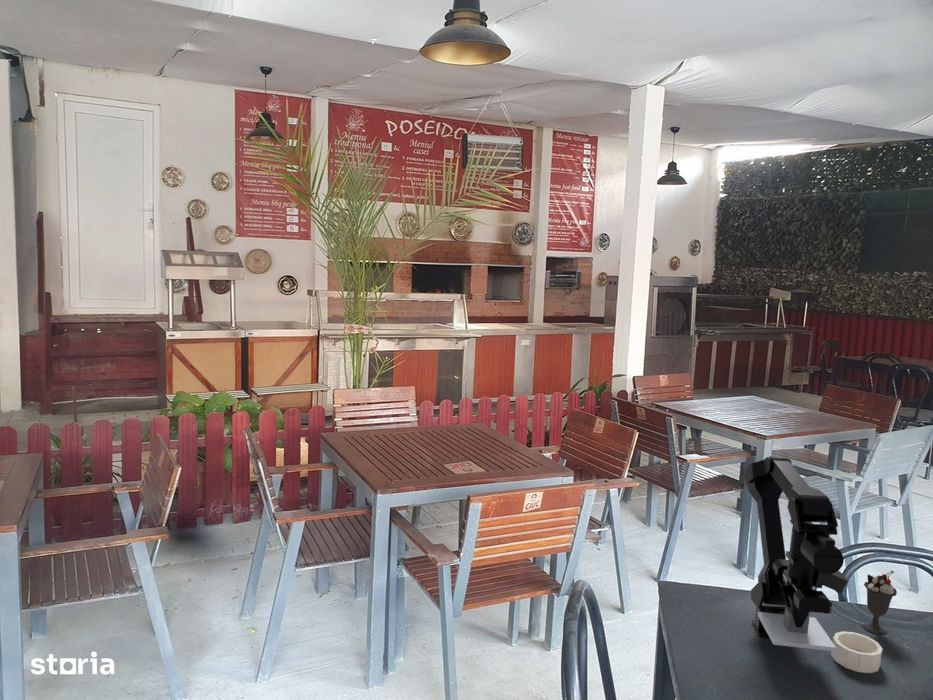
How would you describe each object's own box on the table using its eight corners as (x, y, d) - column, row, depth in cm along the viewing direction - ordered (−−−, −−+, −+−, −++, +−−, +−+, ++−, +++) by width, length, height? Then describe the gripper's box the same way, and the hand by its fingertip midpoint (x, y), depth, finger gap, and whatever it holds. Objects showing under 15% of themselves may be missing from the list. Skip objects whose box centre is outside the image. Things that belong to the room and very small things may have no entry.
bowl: (841, 670, 152) (843, 652, 151) (825, 646, 161) (827, 629, 160) (886, 675, 151) (889, 657, 150) (868, 651, 160) (871, 634, 159)
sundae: (895, 638, 166) (904, 576, 163) (863, 634, 167) (872, 572, 165) (885, 624, 172) (894, 563, 170) (854, 619, 173) (862, 560, 171)
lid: (773, 644, 148) (776, 622, 148) (757, 615, 160) (759, 594, 159) (835, 651, 147) (838, 629, 146) (814, 621, 159) (817, 600, 158)
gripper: (864, 576, 141) (854, 651, 143) (829, 538, 159) (820, 605, 161) (804, 570, 142) (794, 645, 144) (775, 533, 160) (768, 600, 163)
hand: (796, 623), depth 153 cm, fingers closed on lid, 3 cm apart
